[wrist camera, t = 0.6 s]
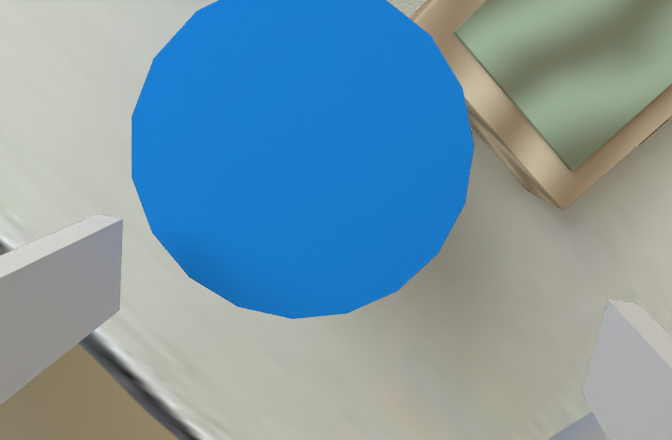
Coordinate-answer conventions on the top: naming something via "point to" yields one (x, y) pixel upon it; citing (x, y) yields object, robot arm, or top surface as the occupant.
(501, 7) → the wooden box
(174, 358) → the top surface
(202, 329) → the top surface
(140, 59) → the top surface
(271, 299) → the thermos
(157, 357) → the top surface
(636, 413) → the robot arm
